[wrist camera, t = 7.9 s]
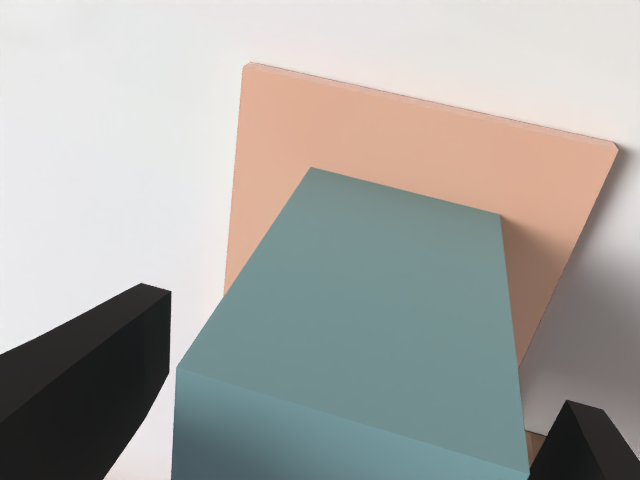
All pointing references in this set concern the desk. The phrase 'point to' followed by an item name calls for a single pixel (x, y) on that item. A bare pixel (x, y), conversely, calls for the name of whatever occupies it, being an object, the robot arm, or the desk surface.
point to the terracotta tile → (417, 170)
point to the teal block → (358, 347)
